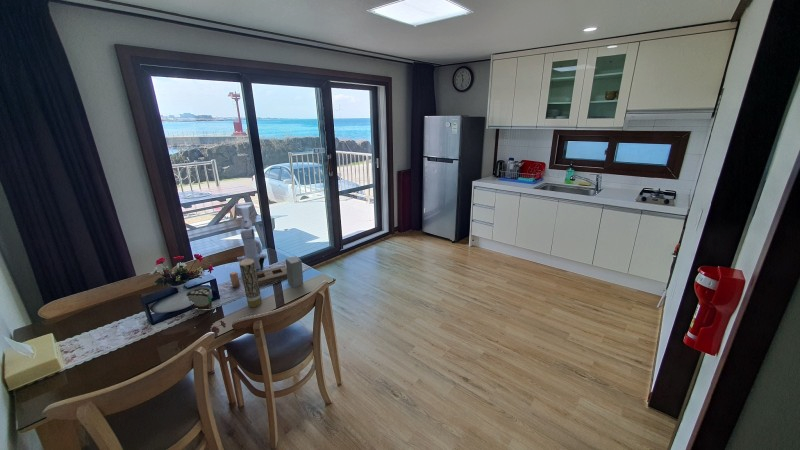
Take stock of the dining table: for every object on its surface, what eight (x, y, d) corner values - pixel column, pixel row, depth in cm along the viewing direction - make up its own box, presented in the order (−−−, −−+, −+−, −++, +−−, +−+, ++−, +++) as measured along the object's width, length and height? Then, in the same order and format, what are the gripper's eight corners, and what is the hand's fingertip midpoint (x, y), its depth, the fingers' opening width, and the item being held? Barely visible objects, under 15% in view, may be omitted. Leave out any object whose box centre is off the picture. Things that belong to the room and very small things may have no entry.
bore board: (248, 279, 186) (247, 274, 185) (285, 269, 197) (284, 265, 196) (251, 288, 177) (250, 283, 176) (290, 277, 188) (289, 272, 187)
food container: (220, 303, 163) (216, 287, 159) (212, 310, 157) (208, 294, 153) (198, 302, 164) (194, 286, 160) (190, 309, 158) (185, 292, 154)
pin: (232, 285, 180) (229, 273, 177) (239, 283, 182) (236, 271, 179) (232, 288, 177) (230, 275, 174) (240, 286, 179) (237, 274, 176)
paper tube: (256, 308, 158) (248, 265, 150) (245, 307, 160) (235, 264, 151) (264, 301, 165) (256, 259, 156) (253, 299, 166) (245, 258, 157)
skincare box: (287, 282, 182) (283, 258, 177) (298, 278, 187) (295, 254, 181) (293, 288, 176) (289, 263, 171) (305, 283, 181) (301, 259, 175)
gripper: (234, 253, 165) (239, 275, 170) (263, 250, 169) (267, 272, 173) (237, 248, 172) (242, 269, 177) (265, 245, 175) (269, 266, 180)
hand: (254, 270), depth 175 cm, fingers open, 7 cm apart
